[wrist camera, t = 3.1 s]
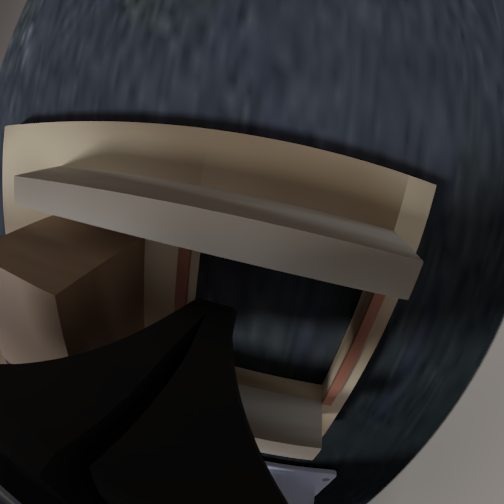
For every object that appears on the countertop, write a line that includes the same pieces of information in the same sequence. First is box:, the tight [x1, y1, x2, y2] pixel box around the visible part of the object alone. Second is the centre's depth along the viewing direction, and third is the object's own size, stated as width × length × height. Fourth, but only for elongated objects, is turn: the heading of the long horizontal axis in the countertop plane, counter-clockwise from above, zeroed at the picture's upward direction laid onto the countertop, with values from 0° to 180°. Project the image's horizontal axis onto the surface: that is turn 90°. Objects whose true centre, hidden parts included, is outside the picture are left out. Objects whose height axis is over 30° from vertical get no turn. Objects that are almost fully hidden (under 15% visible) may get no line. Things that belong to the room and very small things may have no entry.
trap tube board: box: [3, 121, 437, 460], centre depth 10 cm, size 12×18×4 cm, turn 80°
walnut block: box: [0, 215, 145, 364], centre depth 8 cm, size 4×4×4 cm
